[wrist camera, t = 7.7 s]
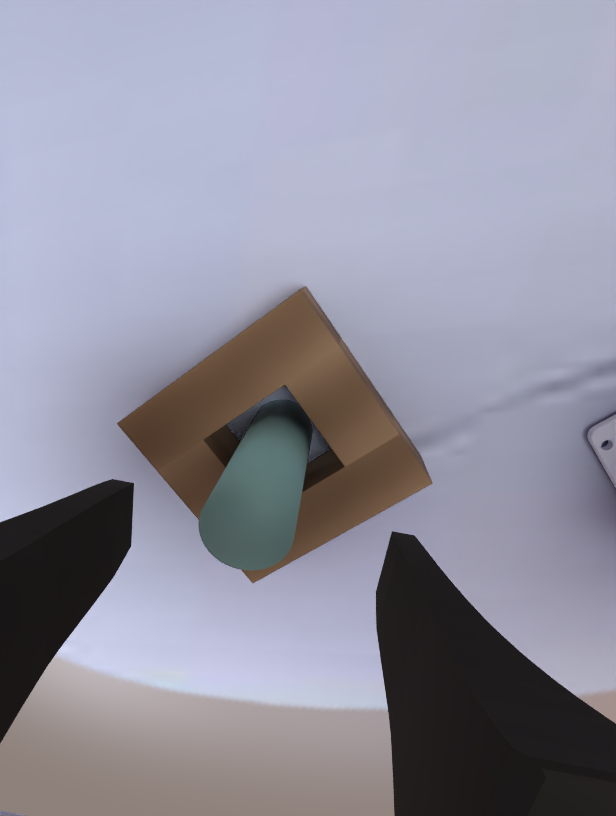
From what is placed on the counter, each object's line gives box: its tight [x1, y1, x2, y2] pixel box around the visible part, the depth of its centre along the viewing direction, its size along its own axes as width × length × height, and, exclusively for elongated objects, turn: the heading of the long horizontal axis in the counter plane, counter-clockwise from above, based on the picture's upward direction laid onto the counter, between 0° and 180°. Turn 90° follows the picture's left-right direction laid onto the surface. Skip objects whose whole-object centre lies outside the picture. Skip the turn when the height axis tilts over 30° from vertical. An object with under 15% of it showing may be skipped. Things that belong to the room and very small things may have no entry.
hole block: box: [117, 287, 432, 583], centre depth 21 cm, size 10×10×3 cm
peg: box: [199, 400, 313, 571], centre depth 18 cm, size 3×3×9 cm
